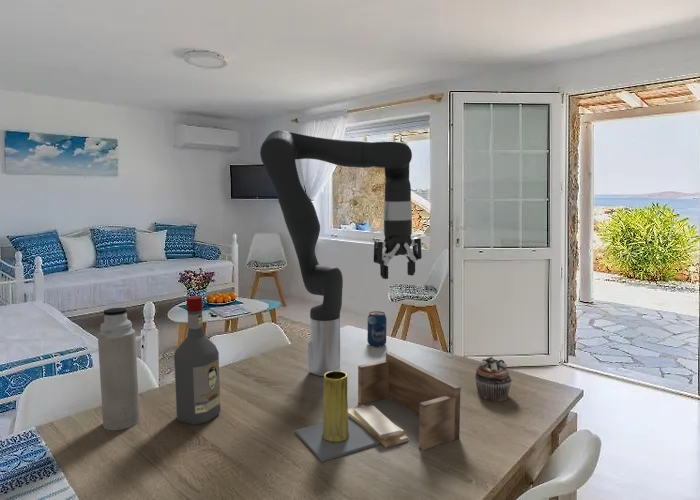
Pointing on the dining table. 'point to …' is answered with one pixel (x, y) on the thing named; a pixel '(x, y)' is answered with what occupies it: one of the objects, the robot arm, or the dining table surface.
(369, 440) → the mat
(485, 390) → the cupcake
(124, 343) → the thermos bottle
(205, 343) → the liquor
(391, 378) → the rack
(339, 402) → the vase
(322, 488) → the dining table surface
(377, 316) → the soda can
